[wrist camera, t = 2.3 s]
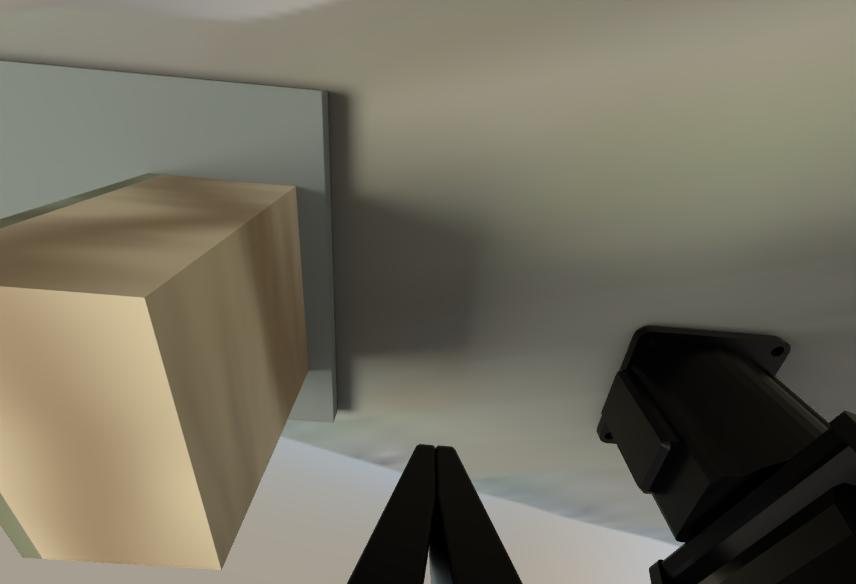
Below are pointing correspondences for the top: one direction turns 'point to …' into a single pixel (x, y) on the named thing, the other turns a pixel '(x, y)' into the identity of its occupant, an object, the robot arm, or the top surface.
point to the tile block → (146, 366)
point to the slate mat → (179, 161)
